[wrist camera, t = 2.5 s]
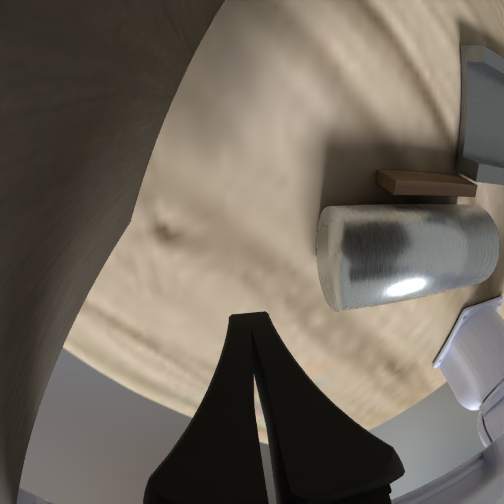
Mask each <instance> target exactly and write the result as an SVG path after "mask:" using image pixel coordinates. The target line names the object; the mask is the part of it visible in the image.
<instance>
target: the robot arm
mask: <svg viewBox="0 0 504 504" xmlns="http://www.w3.org/2000/svg"><path fill="white" fill-rule="evenodd" d="M503 300H504V298H503V297H502V296H500V297H497V298H495V299H492V300H489V301H486V302H483V303H480V304H477V305H474V306H471V307H468V308H465V309H464V310H463V311H462V313H461V315H460V317H459V319H458V321H457V323H456V325H455V327H454V329H453V331H452V332H451V334H450V336H449V338H448V340H447V342H446V343H445V345H444V347H443V349H442V350H441V352H440V354H439V355H438V357H437V359H436V360H435V362H434V363H433V368H437V367H439V368H440V369H441V371H442V373H443V375H444V376H445V378H446V380H447V382H448V383H449V385H450V387H451V389H452V391H453V392H454V394H455V396H456V398H457V400H458V401H459V403H460V404H461V405H462V406H464V407H465V408H467V409H469V410H479V409H480V411H481V412H480V413H479V415H478V421H477V429H478V433H479V436H480V439H481V441H482V443H483V444H484V446H485V447H486V448H484V449H483V450H482V451H481V452H479V453H478V454H477V455H475V456H473V457H472V458H470V459H469V460H467V461H466V462H464V463H463V464H462V465H460V466H458V467H457V468H455V469H453V470H452V471H450V472H448V473H447V474H445V475H443V476H441V477H439V478H437V479H435V480H434V481H432V482H430V483H428V484H426V485H424V486H422V487H420V488H418V489H416V490H413V491H411V492H409V493H407V494H405V495H402V496H400V497H398V498H395V499H393V500H391V499H390V496H389V493H391V487H390V483H392V482H393V481H395V480H397V479H398V478H400V477H401V476H403V474H404V473H405V470H404V467H403V464H402V462H401V460H400V458H399V456H398V455H397V453H396V451H395V450H394V448H393V447H392V446H390V445H388V444H387V443H385V442H383V441H382V440H380V439H379V438H377V437H376V436H374V435H372V434H371V433H370V432H368V431H367V430H366V429H364V428H363V427H361V426H360V425H359V424H357V423H356V422H355V421H354V420H352V419H351V418H350V417H349V416H348V415H346V414H345V413H344V412H343V411H342V410H341V409H339V408H338V407H337V406H336V405H335V404H334V403H333V402H332V401H331V400H330V399H329V398H328V397H327V396H326V395H325V394H324V393H323V392H322V391H321V390H320V389H319V388H318V387H317V386H316V385H315V384H314V383H313V381H312V380H311V379H310V378H309V377H308V376H307V374H306V373H305V372H304V371H303V369H302V368H301V367H300V366H299V364H298V363H297V362H296V360H295V359H294V358H293V356H292V355H291V353H290V352H289V350H288V349H287V347H286V346H285V344H284V343H283V341H282V339H281V338H280V336H279V334H278V333H277V331H276V329H275V327H274V325H273V323H272V321H271V319H270V317H269V314H268V313H267V312H265V311H264V312H254V313H243V314H232V315H231V316H230V317H229V324H228V330H227V335H226V339H225V343H224V347H223V350H222V353H221V356H220V359H219V362H218V365H217V368H216V370H215V373H214V375H213V378H212V380H211V383H210V385H209V387H208V390H207V392H206V394H205V396H204V398H203V400H202V402H201V404H200V406H199V408H198V410H197V411H196V413H195V415H194V417H193V418H192V420H191V422H190V424H189V425H188V427H187V428H186V430H185V432H184V433H183V434H182V436H181V437H180V439H179V440H178V442H177V443H176V445H175V446H174V448H173V449H172V450H171V452H170V453H169V454H168V456H167V457H166V458H165V459H164V461H163V462H162V463H161V464H160V465H159V466H158V468H157V469H156V470H155V471H154V472H153V474H152V475H151V476H150V477H149V480H148V483H147V486H146V489H145V493H144V499H143V504H269V503H268V496H267V490H266V484H265V478H264V471H263V465H262V458H261V451H260V444H259V437H258V430H257V423H256V416H255V408H254V376H255V380H256V385H257V389H258V393H259V398H260V402H261V406H262V410H263V414H264V419H265V423H266V428H267V435H268V442H269V449H270V456H271V463H272V470H273V478H274V486H275V493H276V502H277V504H496V503H497V502H498V501H499V500H500V499H501V498H502V497H503V496H504V320H503V318H502V317H501V316H500V315H499V314H498V312H497V311H498V310H499V308H500V306H501V304H502V302H503ZM17 504H55V503H53V502H51V501H49V500H46V499H44V498H42V497H40V496H38V495H35V494H33V493H31V492H29V491H27V490H25V489H23V488H21V487H19V490H18V497H17Z"/></svg>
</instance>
